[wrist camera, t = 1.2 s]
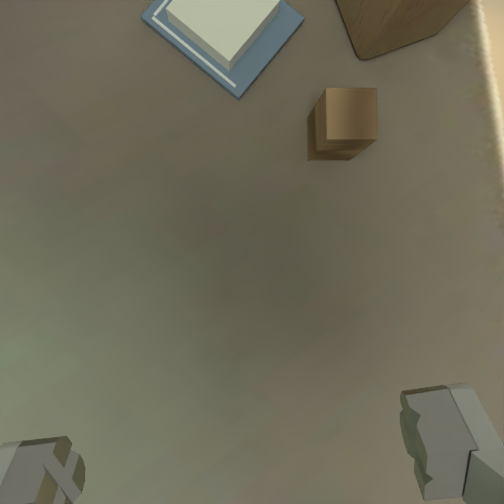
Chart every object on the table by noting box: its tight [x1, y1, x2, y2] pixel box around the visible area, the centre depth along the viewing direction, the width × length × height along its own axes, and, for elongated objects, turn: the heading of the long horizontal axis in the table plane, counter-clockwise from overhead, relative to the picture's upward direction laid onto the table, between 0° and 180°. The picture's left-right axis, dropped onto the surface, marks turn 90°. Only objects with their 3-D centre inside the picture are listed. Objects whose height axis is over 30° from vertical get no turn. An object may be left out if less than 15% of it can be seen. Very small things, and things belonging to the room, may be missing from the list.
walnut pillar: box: [307, 88, 378, 160], centre depth 44 cm, size 4×4×9 cm
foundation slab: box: [166, 0, 280, 71], centre depth 46 cm, size 8×8×2 cm
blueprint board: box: [141, 0, 304, 100], centre depth 48 cm, size 13×11×1 cm
